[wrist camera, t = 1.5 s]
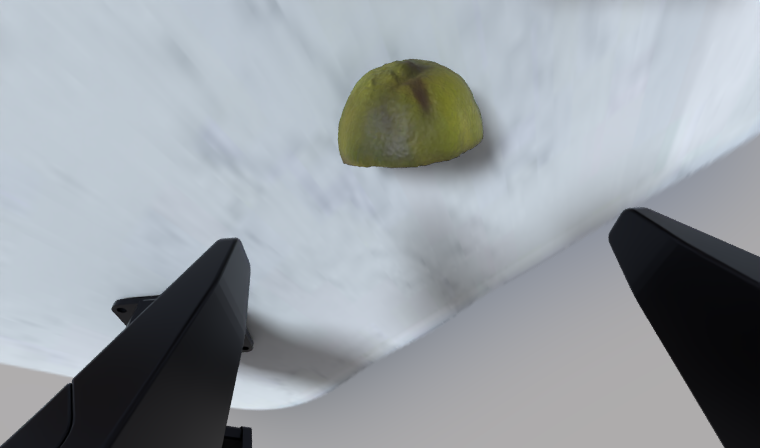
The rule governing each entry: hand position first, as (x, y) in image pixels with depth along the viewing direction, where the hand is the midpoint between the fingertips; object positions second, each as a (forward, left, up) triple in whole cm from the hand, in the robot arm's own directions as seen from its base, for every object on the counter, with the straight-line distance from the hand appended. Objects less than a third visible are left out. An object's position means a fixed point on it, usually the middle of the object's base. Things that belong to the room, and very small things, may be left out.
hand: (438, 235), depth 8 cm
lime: (0, 0, -8) cm, 8 cm away
